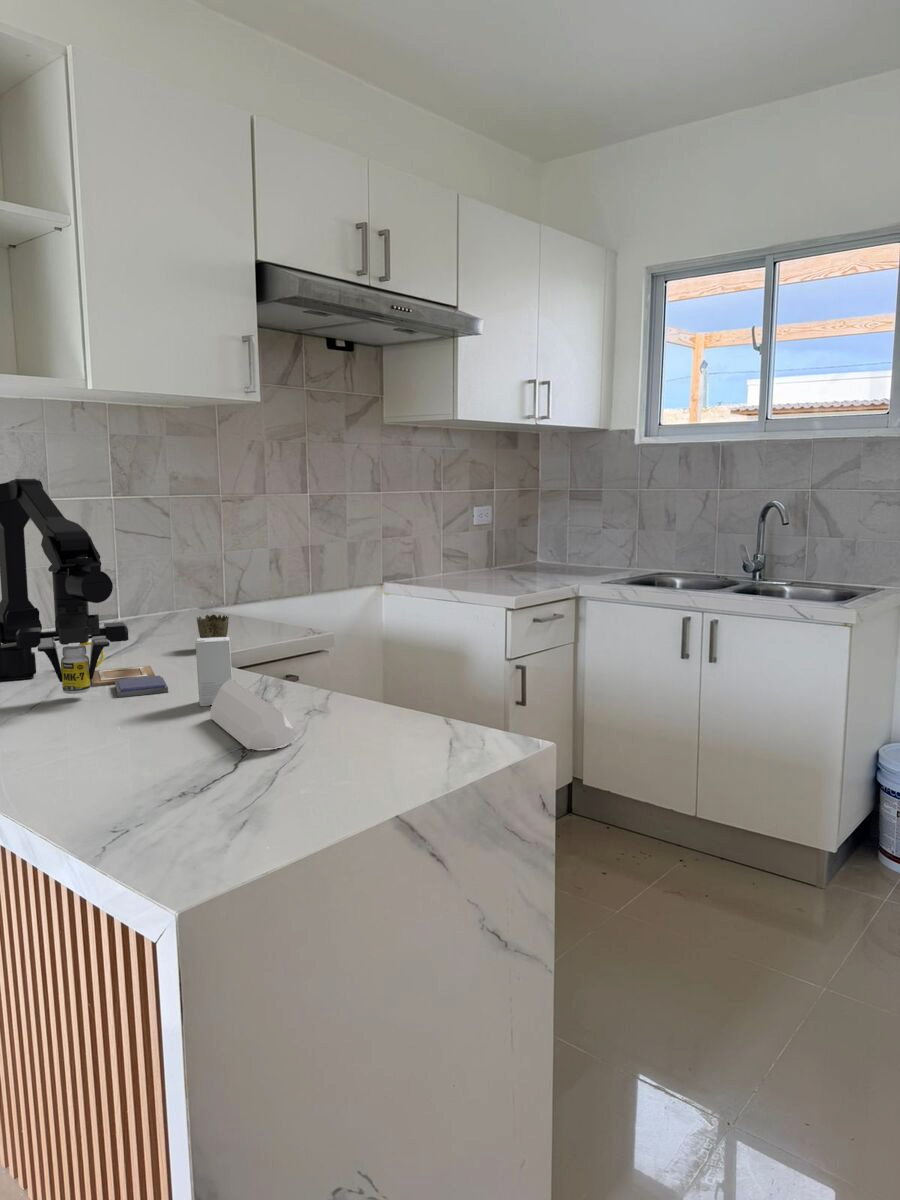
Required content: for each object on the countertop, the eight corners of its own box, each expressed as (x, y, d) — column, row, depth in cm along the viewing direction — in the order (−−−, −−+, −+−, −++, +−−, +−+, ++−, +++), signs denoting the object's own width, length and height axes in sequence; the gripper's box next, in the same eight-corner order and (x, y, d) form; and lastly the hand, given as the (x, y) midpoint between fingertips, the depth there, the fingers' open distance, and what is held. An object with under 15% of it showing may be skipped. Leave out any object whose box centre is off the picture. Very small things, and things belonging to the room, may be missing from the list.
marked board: (92, 686, 166) (92, 682, 165) (90, 673, 176) (90, 669, 176) (156, 680, 171) (156, 676, 170) (150, 668, 181) (150, 664, 181)
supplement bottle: (60, 695, 153) (57, 650, 152) (65, 688, 158) (62, 645, 156) (88, 693, 154) (86, 648, 153) (92, 687, 159) (89, 643, 158)
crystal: (195, 698, 143) (239, 734, 123) (230, 673, 146) (279, 704, 126) (217, 730, 146) (265, 771, 126) (251, 705, 149) (303, 741, 128)
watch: (76, 671, 180) (72, 644, 179) (74, 668, 182) (70, 642, 181) (105, 666, 183) (102, 639, 182) (103, 663, 185) (99, 637, 184)
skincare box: (233, 699, 156) (231, 635, 154) (233, 705, 152) (230, 640, 150) (199, 701, 155) (196, 637, 153) (198, 707, 150) (195, 641, 149)
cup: (210, 653, 196) (209, 620, 195) (191, 649, 201) (190, 617, 200) (236, 648, 202) (235, 616, 201) (217, 645, 207) (215, 613, 205)
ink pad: (118, 697, 157) (117, 689, 157) (115, 686, 165) (114, 679, 165) (168, 692, 161) (167, 684, 161) (162, 682, 169) (162, 674, 169)
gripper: (11, 606, 142) (18, 695, 145) (128, 600, 150) (133, 685, 152) (14, 598, 152) (20, 681, 154) (124, 592, 160) (128, 672, 162)
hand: (76, 680), depth 156 cm, fingers closed on supplement bottle, 5 cm apart
